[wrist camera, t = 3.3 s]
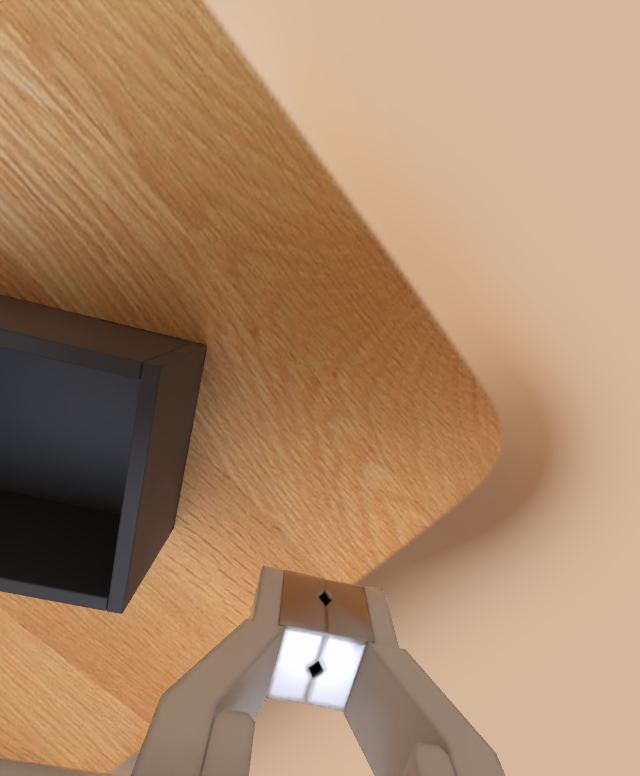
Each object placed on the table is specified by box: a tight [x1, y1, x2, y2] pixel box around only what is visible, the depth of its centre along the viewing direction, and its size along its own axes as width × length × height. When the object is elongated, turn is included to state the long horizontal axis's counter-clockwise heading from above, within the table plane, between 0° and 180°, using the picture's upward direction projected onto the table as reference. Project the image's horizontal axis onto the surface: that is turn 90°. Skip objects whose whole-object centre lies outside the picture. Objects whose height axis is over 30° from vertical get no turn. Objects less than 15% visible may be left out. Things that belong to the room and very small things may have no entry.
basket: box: [0, 295, 207, 614], centre depth 13 cm, size 10×8×4 cm
